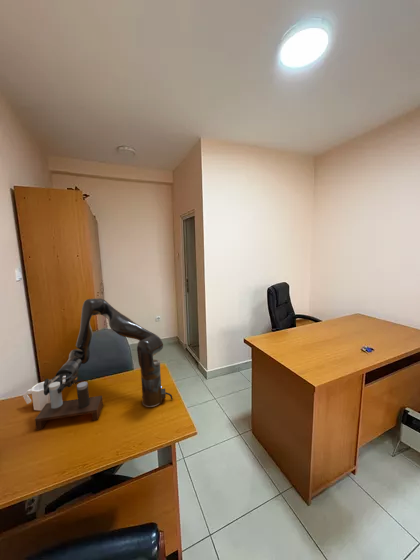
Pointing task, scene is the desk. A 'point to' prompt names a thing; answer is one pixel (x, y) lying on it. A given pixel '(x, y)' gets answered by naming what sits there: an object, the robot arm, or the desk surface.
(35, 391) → the mug
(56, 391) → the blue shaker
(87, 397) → the dark shaker
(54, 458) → the desk surface
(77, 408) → the desk shelf
